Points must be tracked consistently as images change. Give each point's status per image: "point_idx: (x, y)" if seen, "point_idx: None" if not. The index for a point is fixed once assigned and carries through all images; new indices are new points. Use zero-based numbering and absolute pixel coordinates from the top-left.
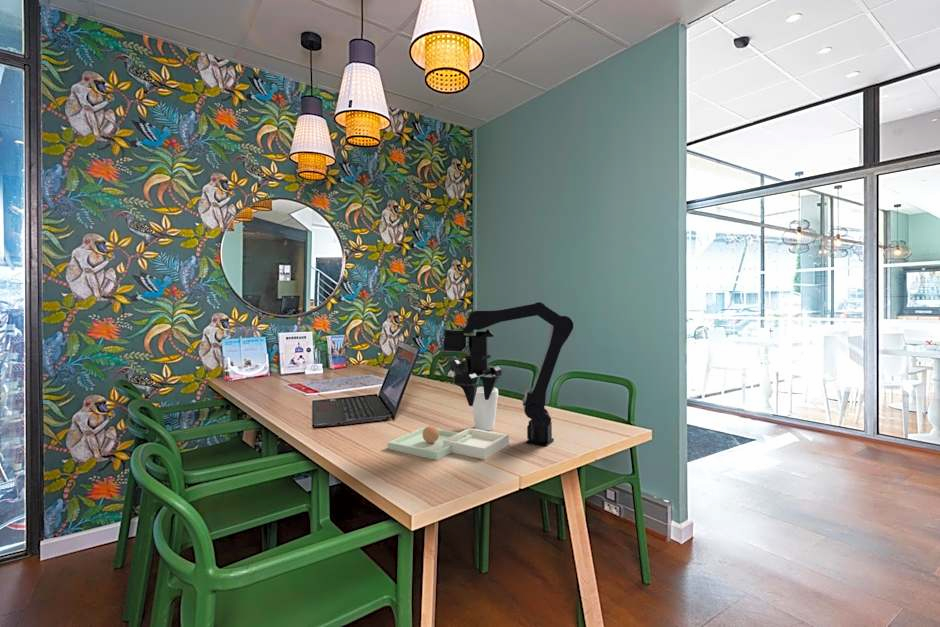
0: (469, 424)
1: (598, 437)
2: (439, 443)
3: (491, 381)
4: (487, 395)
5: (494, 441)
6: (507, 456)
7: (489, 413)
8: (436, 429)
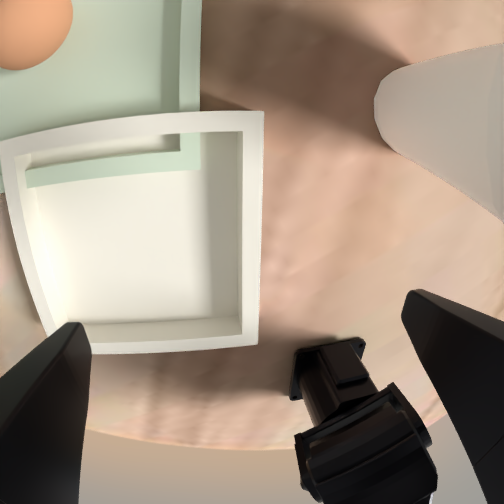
0: (421, 28)
1: None
2: (51, 74)
3: (501, 472)
4: (424, 343)
5: (141, 345)
6: (140, 365)
7: (440, 174)
8: (15, 51)
